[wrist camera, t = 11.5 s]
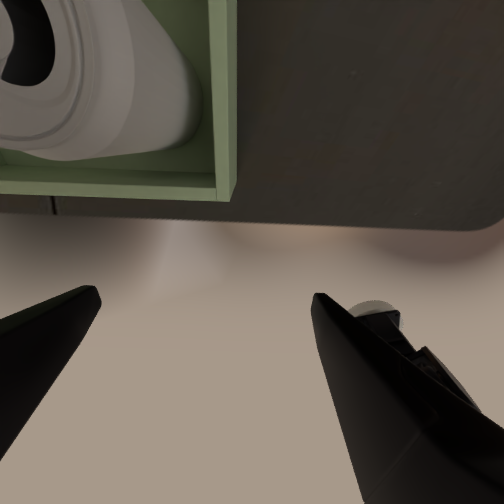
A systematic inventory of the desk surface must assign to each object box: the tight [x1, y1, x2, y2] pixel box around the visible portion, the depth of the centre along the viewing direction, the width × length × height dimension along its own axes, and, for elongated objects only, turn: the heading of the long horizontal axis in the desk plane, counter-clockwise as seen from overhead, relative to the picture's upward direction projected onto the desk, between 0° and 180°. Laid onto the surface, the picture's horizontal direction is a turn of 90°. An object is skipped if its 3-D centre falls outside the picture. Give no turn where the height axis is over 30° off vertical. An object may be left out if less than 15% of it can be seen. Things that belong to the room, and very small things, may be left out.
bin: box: [0, 0, 237, 202], centre depth 12 cm, size 20×14×7 cm
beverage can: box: [0, 0, 203, 161], centre depth 10 cm, size 6×6×12 cm
